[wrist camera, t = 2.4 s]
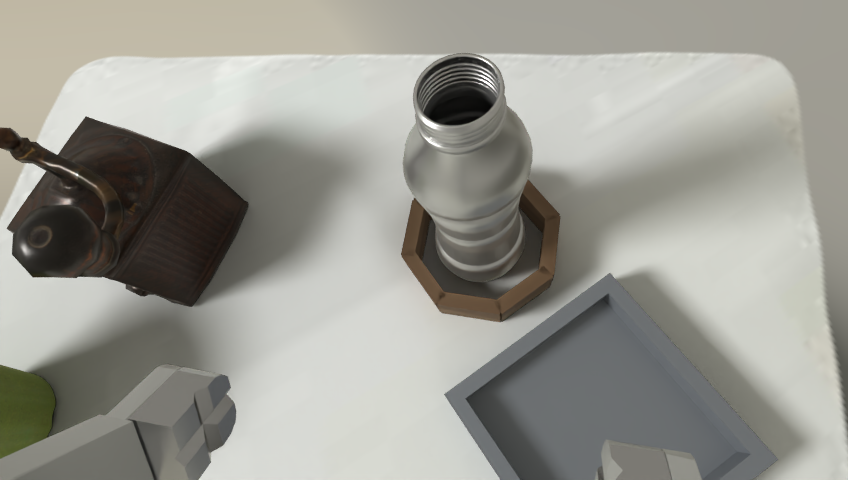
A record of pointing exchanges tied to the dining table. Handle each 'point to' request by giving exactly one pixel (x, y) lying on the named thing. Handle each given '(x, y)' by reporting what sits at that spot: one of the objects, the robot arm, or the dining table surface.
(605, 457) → the robot arm
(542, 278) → the walnut collar
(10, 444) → the plant pot
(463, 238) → the plastic bottle
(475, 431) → the charcoal tray
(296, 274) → the dining table surface
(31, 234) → the manual coffee grinder
